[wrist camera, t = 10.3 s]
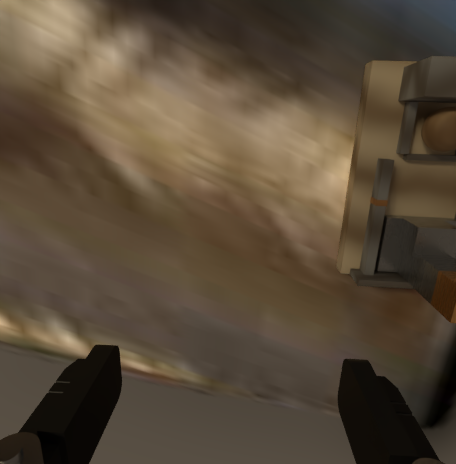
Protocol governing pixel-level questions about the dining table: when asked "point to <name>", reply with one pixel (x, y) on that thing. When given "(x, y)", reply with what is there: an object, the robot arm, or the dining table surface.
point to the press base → (396, 161)
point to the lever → (422, 257)
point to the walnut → (440, 130)
